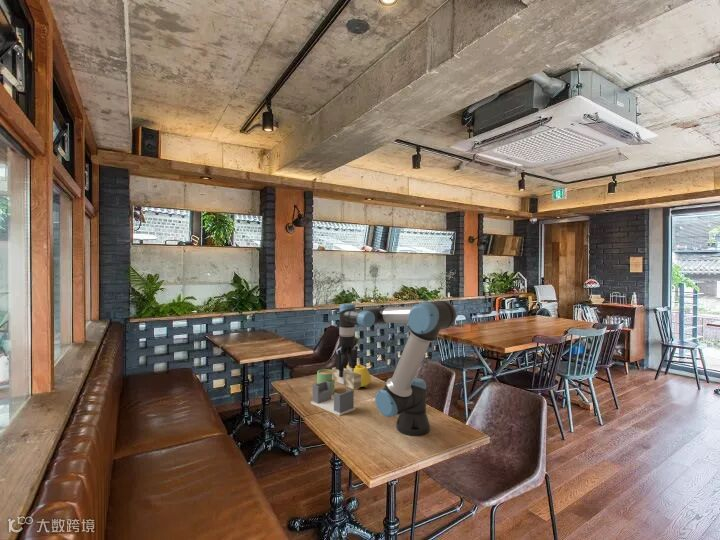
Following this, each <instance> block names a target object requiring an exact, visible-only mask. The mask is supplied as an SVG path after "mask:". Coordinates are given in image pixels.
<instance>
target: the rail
mask: <svg viewBox="0 0 720 540" xmlns="http://www.w3.org/2000/svg"><path fill="white" fill-rule="evenodd" d="M331 370H332V380H334V382H336V383H339V384H341V383H340V377H339V370H337V369H336V366H335V367H332V368H331ZM344 371H345V384H342V385H343V386H346V387H348V388H349V389H351V390H355V389H356V388H359V389H360V388H361V375H360V374H358V373H355V372H353V371H350V370H348V369H347V368H345V367H344Z"/></svg>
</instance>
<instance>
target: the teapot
mask: <svg viewBox="0 0 720 540" xmlns="http://www.w3.org/2000/svg"><path fill="white" fill-rule="evenodd" d="M348 367H349V364H348V365H346V369H348ZM354 372H355V373H358V374H360V375H361V387H362V388H365V389H366V388H369V384H370V383H371V382H372V378H371V374H370V371H369V370H368V368H367V367H366V366H365V365H361V363H357V366H355V368H354ZM361 387H360V388H361ZM360 388H356V389H354V390H356V391H357V390H360Z"/></svg>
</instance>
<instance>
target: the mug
mask: <svg viewBox="0 0 720 540" xmlns="http://www.w3.org/2000/svg"><path fill="white" fill-rule="evenodd" d="M316 372H317V373H316V384H318V383H321V382H325V381H327V382H330V383H331V395H334V393H335V381H334V380H332V369H327V368H326V369H324V368H322V369H319V370H317V371H316Z"/></svg>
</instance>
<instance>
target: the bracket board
mask: <svg viewBox="0 0 720 540" xmlns="http://www.w3.org/2000/svg"><path fill="white" fill-rule="evenodd" d="M345 390H346V391H345V392H342V393H337V392H335V391H334V393H333V398H332V394H331V383H330V382H327V381H325V382H321V383H318V384H317V383H316V384H315V383H314V384H312V401H311V400H310V404H311V405H313V406H317V407H318V408H321V409H323V410H325V411H327V412H330V413H332V414H335V416H339V417H340V416H342V415H344V414H345V415H346V414H348V413H350V412H354V411H355V410H356V407H354V396H355V395H354V392H355V391H354V389H351V388H346V389H345Z"/></svg>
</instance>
